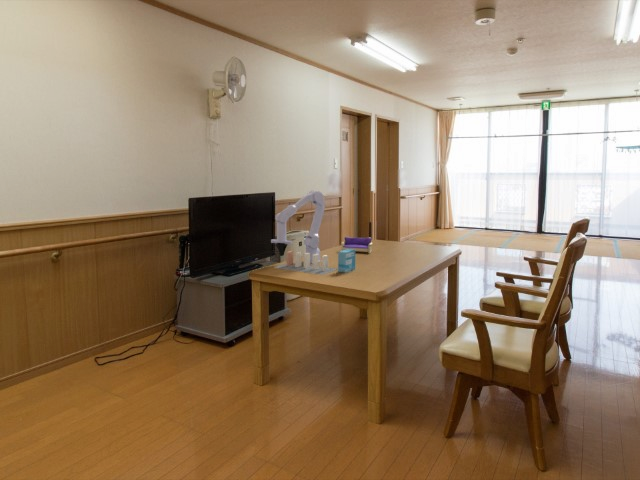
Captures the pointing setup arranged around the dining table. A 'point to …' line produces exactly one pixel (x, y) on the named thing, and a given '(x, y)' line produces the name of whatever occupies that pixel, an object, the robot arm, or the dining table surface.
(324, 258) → the tile
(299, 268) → the mat
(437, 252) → the dining table surface
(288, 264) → the tile
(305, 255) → the tile
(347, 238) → the toy sofa
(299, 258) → the beige rectangular block
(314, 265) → the tile
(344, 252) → the data package
